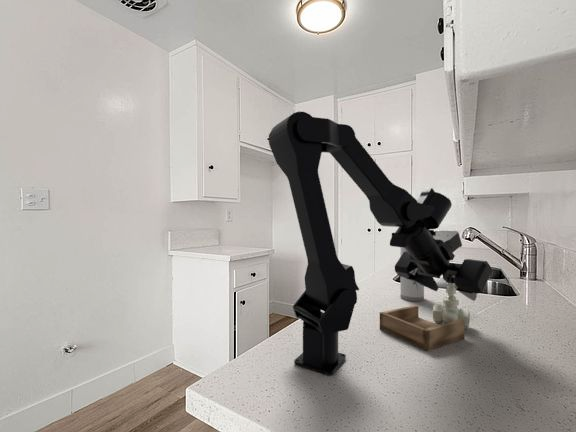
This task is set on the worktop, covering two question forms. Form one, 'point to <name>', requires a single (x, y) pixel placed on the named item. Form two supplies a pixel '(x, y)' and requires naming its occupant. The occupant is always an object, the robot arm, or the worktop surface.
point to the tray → (420, 328)
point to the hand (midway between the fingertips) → (454, 293)
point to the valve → (450, 306)
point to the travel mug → (410, 287)
